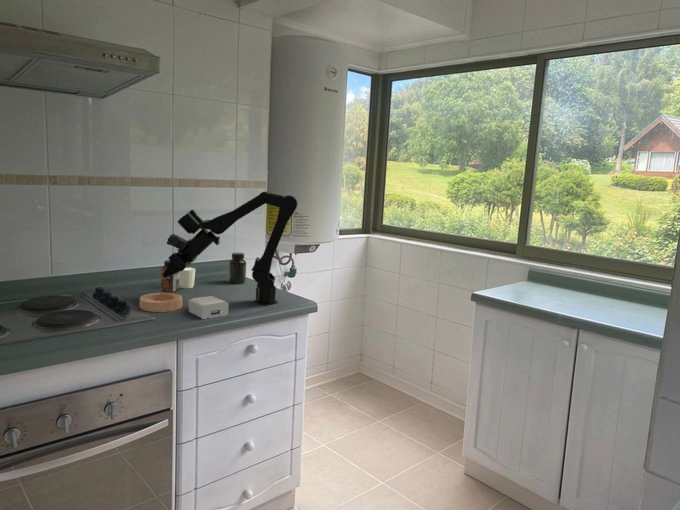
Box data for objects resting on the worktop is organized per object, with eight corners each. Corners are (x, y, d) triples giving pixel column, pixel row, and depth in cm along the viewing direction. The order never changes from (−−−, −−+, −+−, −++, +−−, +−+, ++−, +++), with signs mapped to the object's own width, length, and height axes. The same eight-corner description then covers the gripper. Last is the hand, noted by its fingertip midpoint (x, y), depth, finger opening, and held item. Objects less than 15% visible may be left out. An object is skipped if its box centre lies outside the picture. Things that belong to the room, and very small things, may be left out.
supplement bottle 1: (157, 293, 178) (157, 261, 177) (167, 290, 184) (167, 258, 182) (172, 295, 177) (172, 263, 175) (182, 292, 182) (182, 260, 180)
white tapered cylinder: (190, 289, 195) (190, 271, 193) (173, 287, 196) (173, 269, 194) (198, 285, 201) (198, 267, 200) (181, 283, 202) (181, 266, 201)
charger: (204, 304, 176) (228, 315, 165) (179, 308, 170) (202, 320, 159) (205, 291, 175) (228, 301, 164) (179, 294, 169) (202, 305, 158)
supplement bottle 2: (240, 280, 216) (241, 251, 214) (248, 283, 210) (249, 254, 208) (225, 281, 211) (226, 252, 209) (233, 285, 206) (234, 255, 204)
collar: (190, 306, 171) (190, 298, 171) (156, 314, 161) (156, 305, 160) (165, 299, 179) (165, 290, 178) (131, 305, 168) (131, 296, 168)
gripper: (187, 223, 186) (156, 252, 187) (175, 230, 168) (140, 262, 169) (209, 246, 188) (178, 274, 189) (199, 254, 169) (165, 286, 170)
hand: (166, 273), depth 179 cm, fingers closed on supplement bottle 1, 6 cm apart
